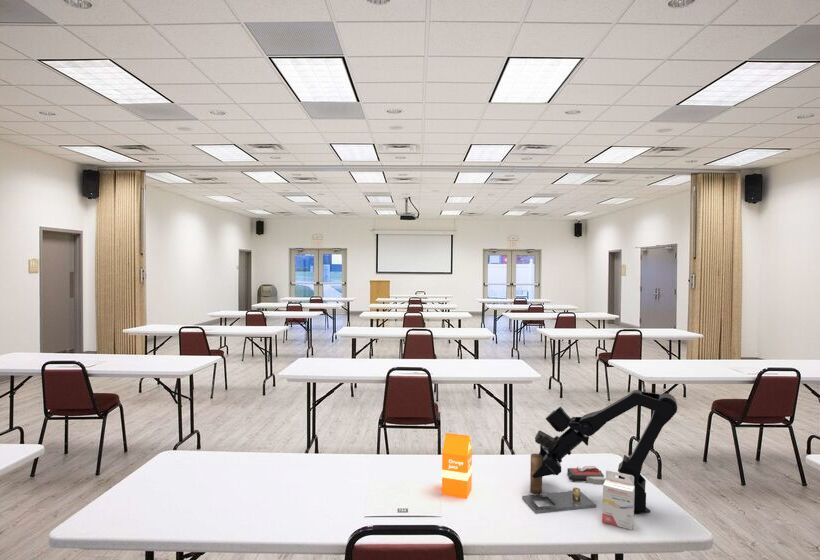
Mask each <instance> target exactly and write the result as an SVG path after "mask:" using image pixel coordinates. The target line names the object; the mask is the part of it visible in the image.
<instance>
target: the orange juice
mask: <svg viewBox="0 0 820 560" xmlns="http://www.w3.org/2000/svg"><path fill="white" fill-rule="evenodd" d="M441 452H442V454H441V460H442V461H441V495H442V496H447V497H449V496H450V497H453V498H454V497H455V498H461V499H468V497H469V496H470V493H471V491H472V484H473V483H472V477H473V475H472V473H473V472H472V471H473V465H472V464H473V461H472V460H473V446H472V442H471V436H470V435H468V434H467V435H466V434H458V433H448V432H445V435H444V441H443V448H442V451H441Z"/></svg>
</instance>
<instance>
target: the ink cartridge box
mask: <svg viewBox="0 0 820 560" xmlns="http://www.w3.org/2000/svg"><path fill="white" fill-rule="evenodd" d="M618 476H621V477H624V478H625V479H620V478H618ZM605 479H606V480H605V482H604V484H602V485H603V486H602V507H601V508H602V510H601V511H602V514H601V519H602V520H601V522H602V523H605V524H608V525H611V526H615V527H618V526H619V528H622V527H623V529H626V528H627V529H626V530H630V531H632V530H633V527H634V523H635V514H634V493H635V486H634V476H632V475H627V474H623V473H619V472H618V471H613V470H609V469H608V470H606V472H605Z"/></svg>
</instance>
